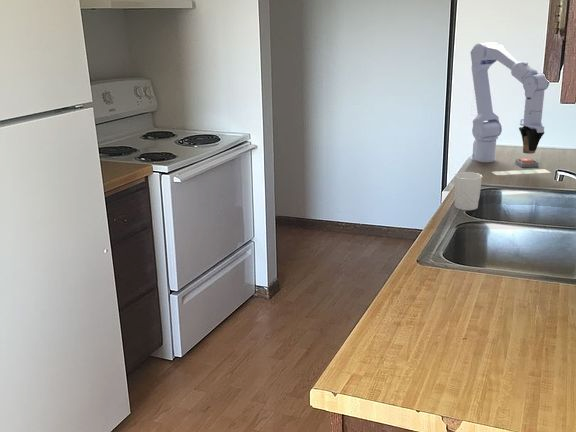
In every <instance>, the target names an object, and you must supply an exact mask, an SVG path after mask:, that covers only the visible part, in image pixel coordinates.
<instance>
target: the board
mask: <svg viewBox="0 0 576 432" xmlns="http://www.w3.org/2000/svg"><path fill="white" fill-rule="evenodd" d="M491 173H492V174H493V175H495V176H509V175H511V176H512V175H513V176H514V175H529V174H530V175H531V174H532V175H533V174H551V173H552V172H551V171H549V170H548V169H546V168H544V169H542V168H541V169H523V170H522V169H520V170H519V169H518V170H505V171H504V170H503V171H502V170H500V171H491Z"/></svg>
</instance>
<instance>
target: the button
mask: <svg viewBox="0 0 576 432" xmlns="http://www.w3.org/2000/svg"><path fill="white" fill-rule="evenodd" d="M520 159H521V162H522V163H533V161H534V160H535V159H533V158H531V157H529V158H528V157H527V158H526V157H525V158H524V157H523V158H520Z"/></svg>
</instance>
